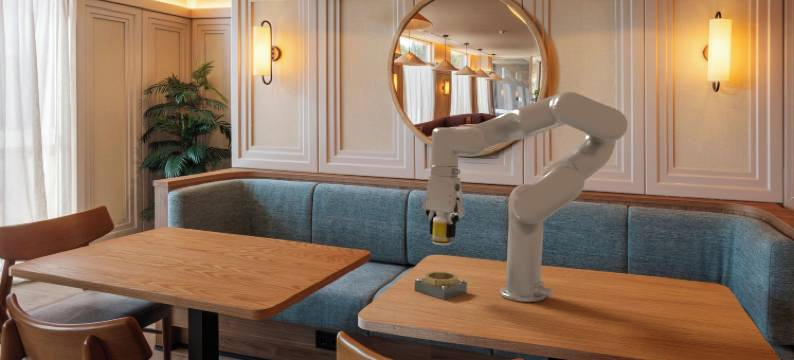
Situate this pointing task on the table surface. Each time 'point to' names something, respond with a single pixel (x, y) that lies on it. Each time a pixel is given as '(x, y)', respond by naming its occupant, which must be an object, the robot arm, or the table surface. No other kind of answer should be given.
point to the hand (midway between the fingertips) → (442, 235)
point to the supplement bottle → (440, 229)
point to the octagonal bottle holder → (441, 285)
